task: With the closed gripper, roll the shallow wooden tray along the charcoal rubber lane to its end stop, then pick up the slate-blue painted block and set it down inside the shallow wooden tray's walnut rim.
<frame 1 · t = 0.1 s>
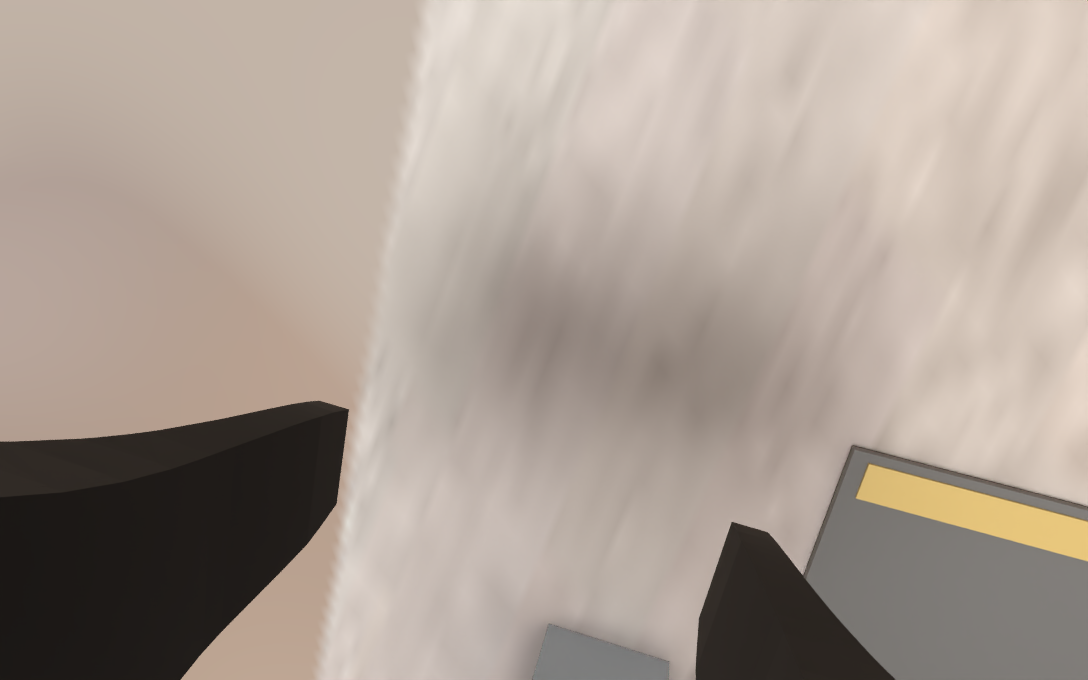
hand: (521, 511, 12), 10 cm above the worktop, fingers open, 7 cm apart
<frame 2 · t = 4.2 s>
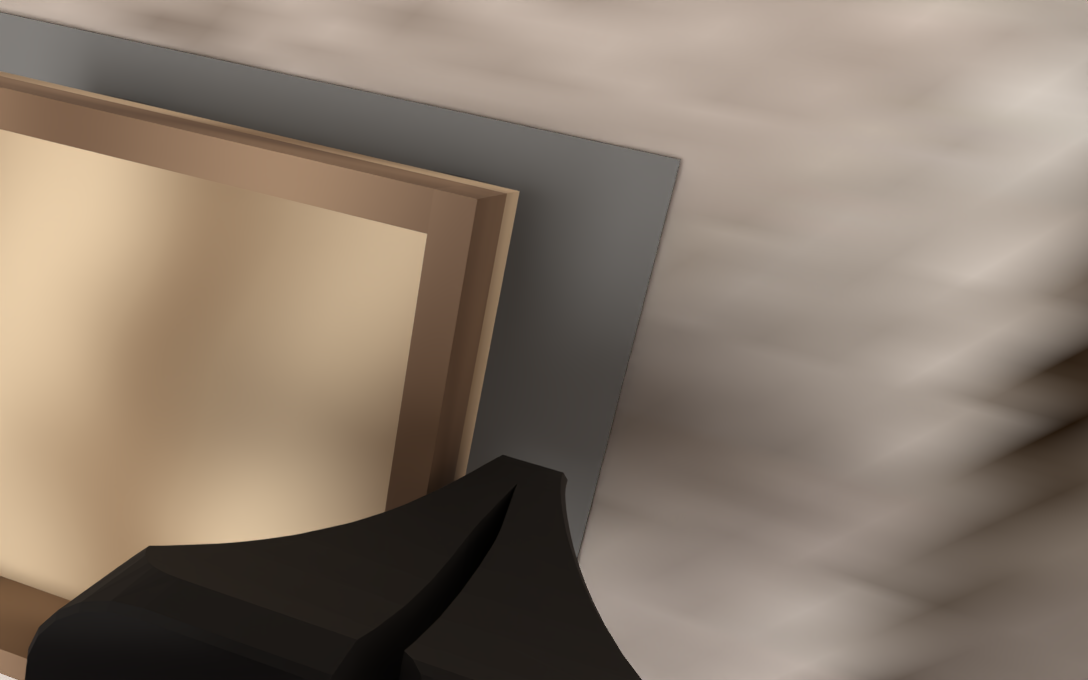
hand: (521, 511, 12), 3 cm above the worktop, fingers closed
lane: (169, 332, 16), on the worktop
shallow wooden tray: (203, 406, 13), point 3 cm above the worktop, slide at 0.9 cm, touching gripper
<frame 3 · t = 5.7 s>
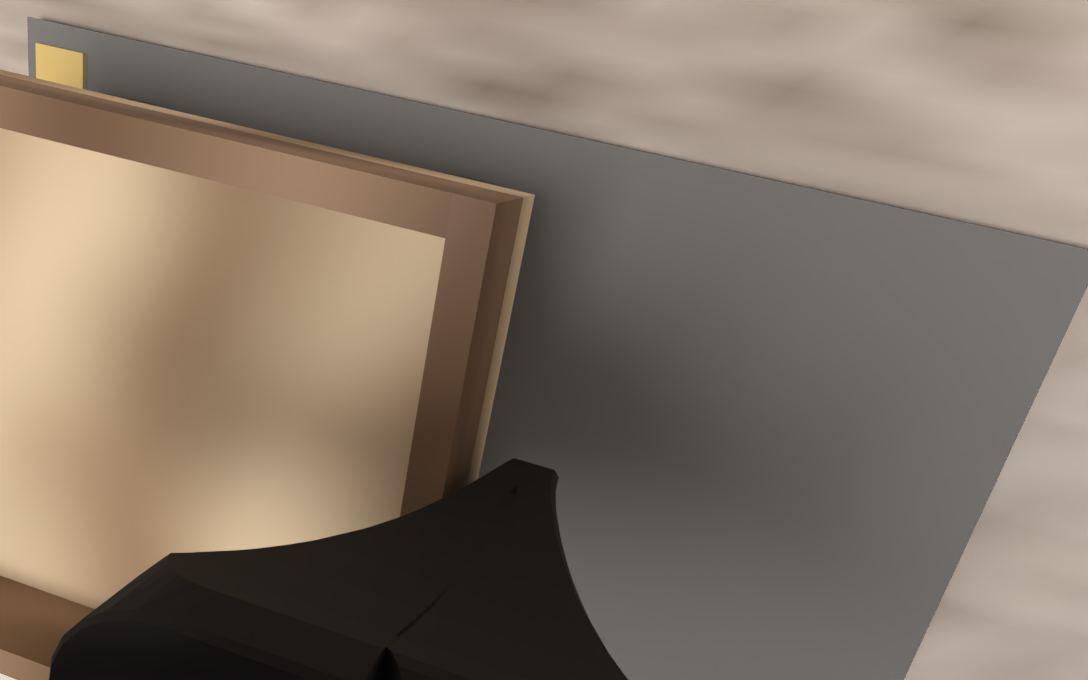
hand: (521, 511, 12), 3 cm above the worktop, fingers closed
lane: (454, 412, 15), on the worktop
shallow wooden tray: (214, 409, 13), point 3 cm above the worktop, slide at 8.1 cm, touching gripper
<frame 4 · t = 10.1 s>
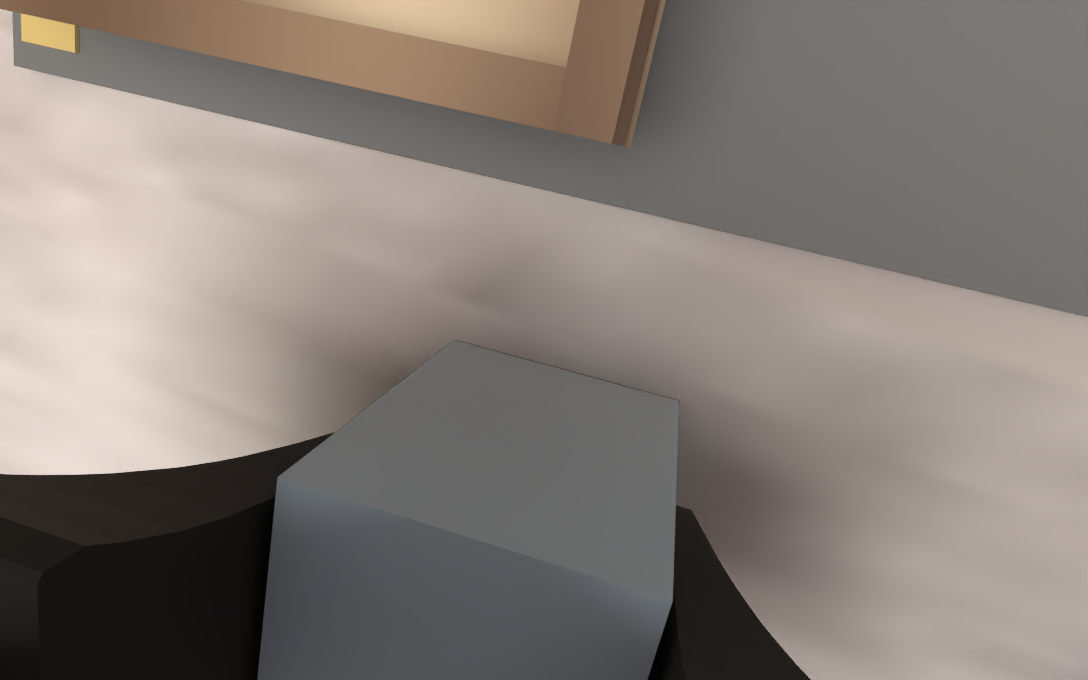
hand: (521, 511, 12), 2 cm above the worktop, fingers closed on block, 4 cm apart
block: (540, 471, 13), on the worktop, touching gripper
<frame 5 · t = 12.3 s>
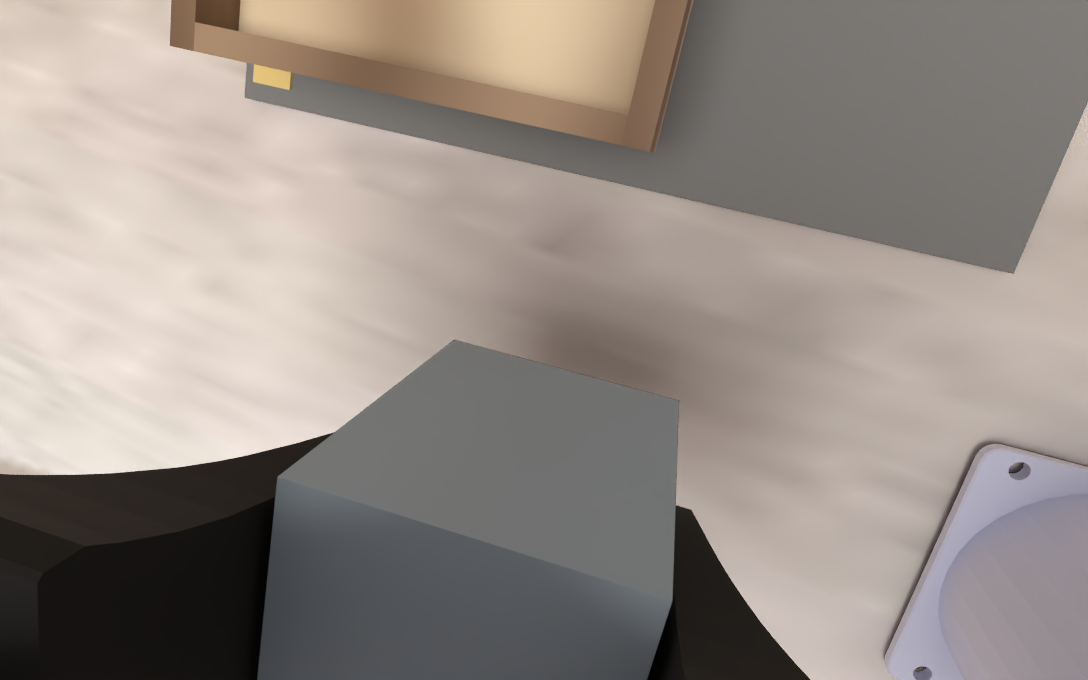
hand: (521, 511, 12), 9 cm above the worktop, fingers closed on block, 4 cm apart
block: (540, 471, 13), point 7 cm above the worktop, touching gripper
when the fingers open (6 cm above the worktop, at t = 14.8 s): block stays where it is, resting on shallow wooden tray.
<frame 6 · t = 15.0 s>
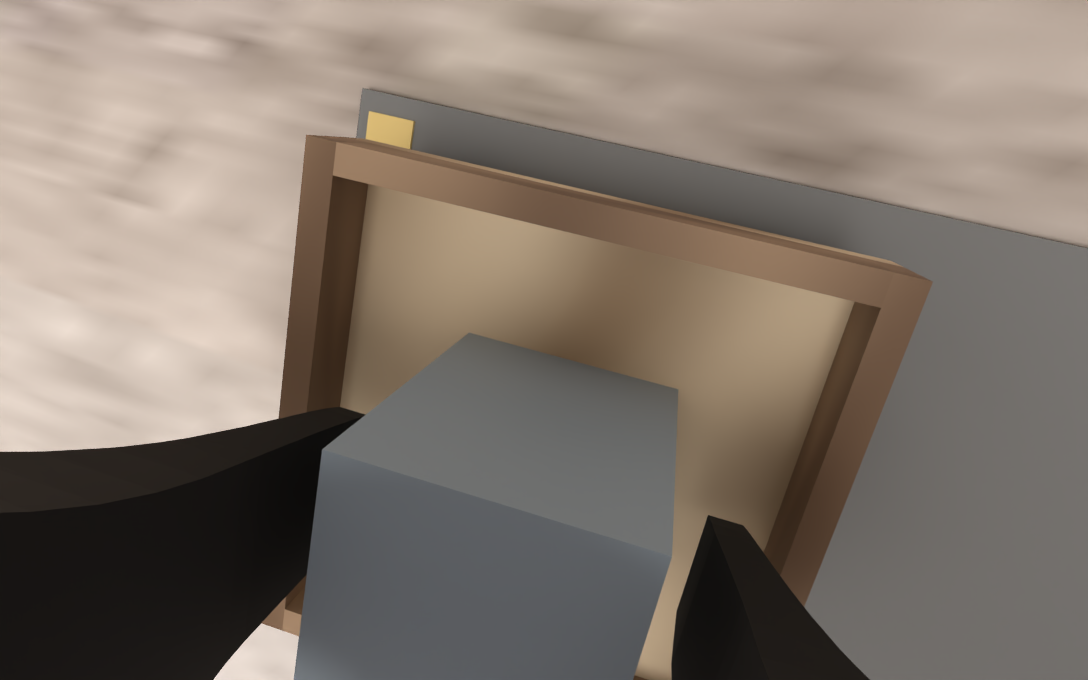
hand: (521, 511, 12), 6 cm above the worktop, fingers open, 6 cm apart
lane: (724, 435, 17), on the worktop
block: (548, 456, 14), point 4 cm above the worktop, touching shallow wooden tray
shallow wooden tray: (556, 435, 15), point 3 cm above the worktop, slide at 8.0 cm, touching block
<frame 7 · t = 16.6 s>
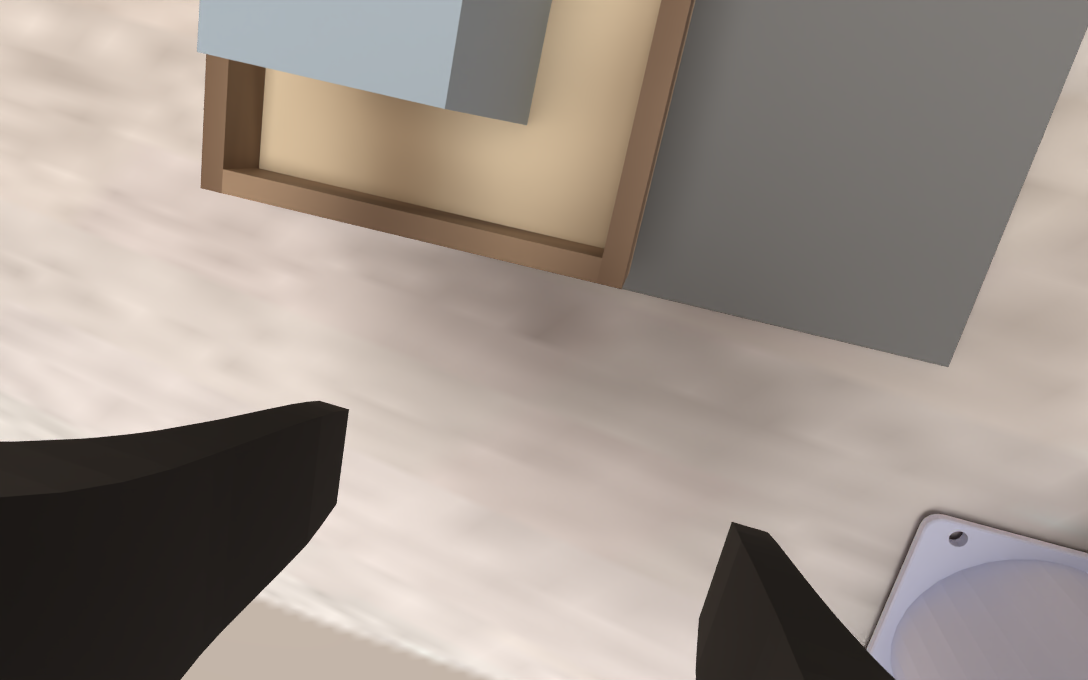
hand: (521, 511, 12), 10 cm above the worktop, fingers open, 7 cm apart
lane: (628, 57, 19), on the worktop
block: (457, 9, 16), point 4 cm above the worktop, touching shallow wooden tray
shallow wooden tray: (467, 12, 17), point 3 cm above the worktop, slide at 7.9 cm, touching block
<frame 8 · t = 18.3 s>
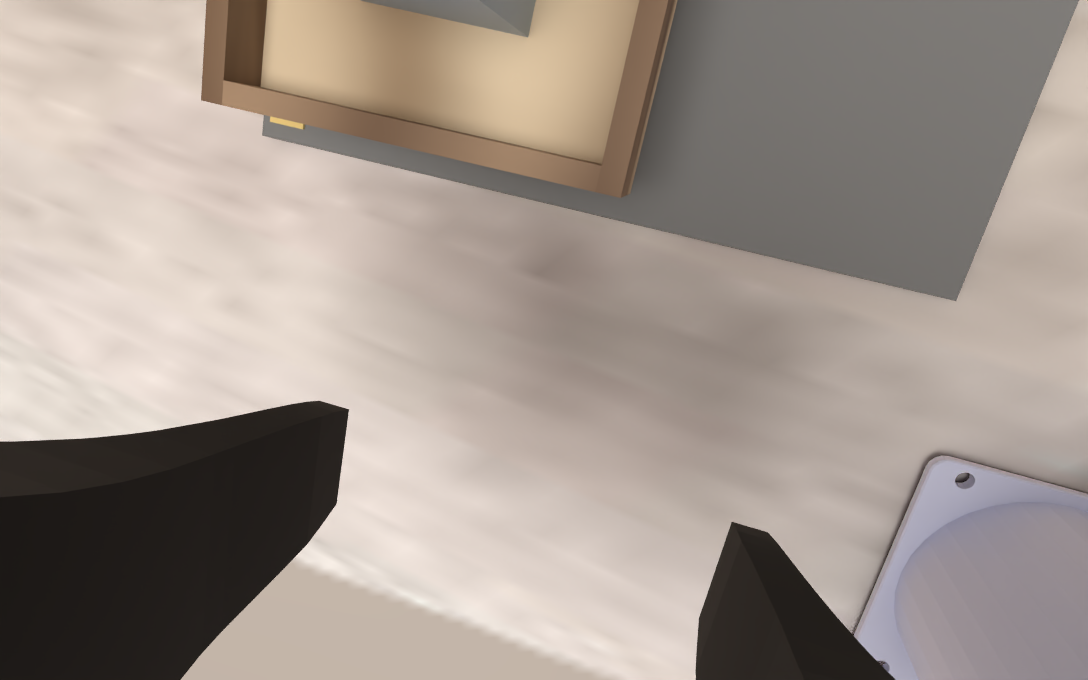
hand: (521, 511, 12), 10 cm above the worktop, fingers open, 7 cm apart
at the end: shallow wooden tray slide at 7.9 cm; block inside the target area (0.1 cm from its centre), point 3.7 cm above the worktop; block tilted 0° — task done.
